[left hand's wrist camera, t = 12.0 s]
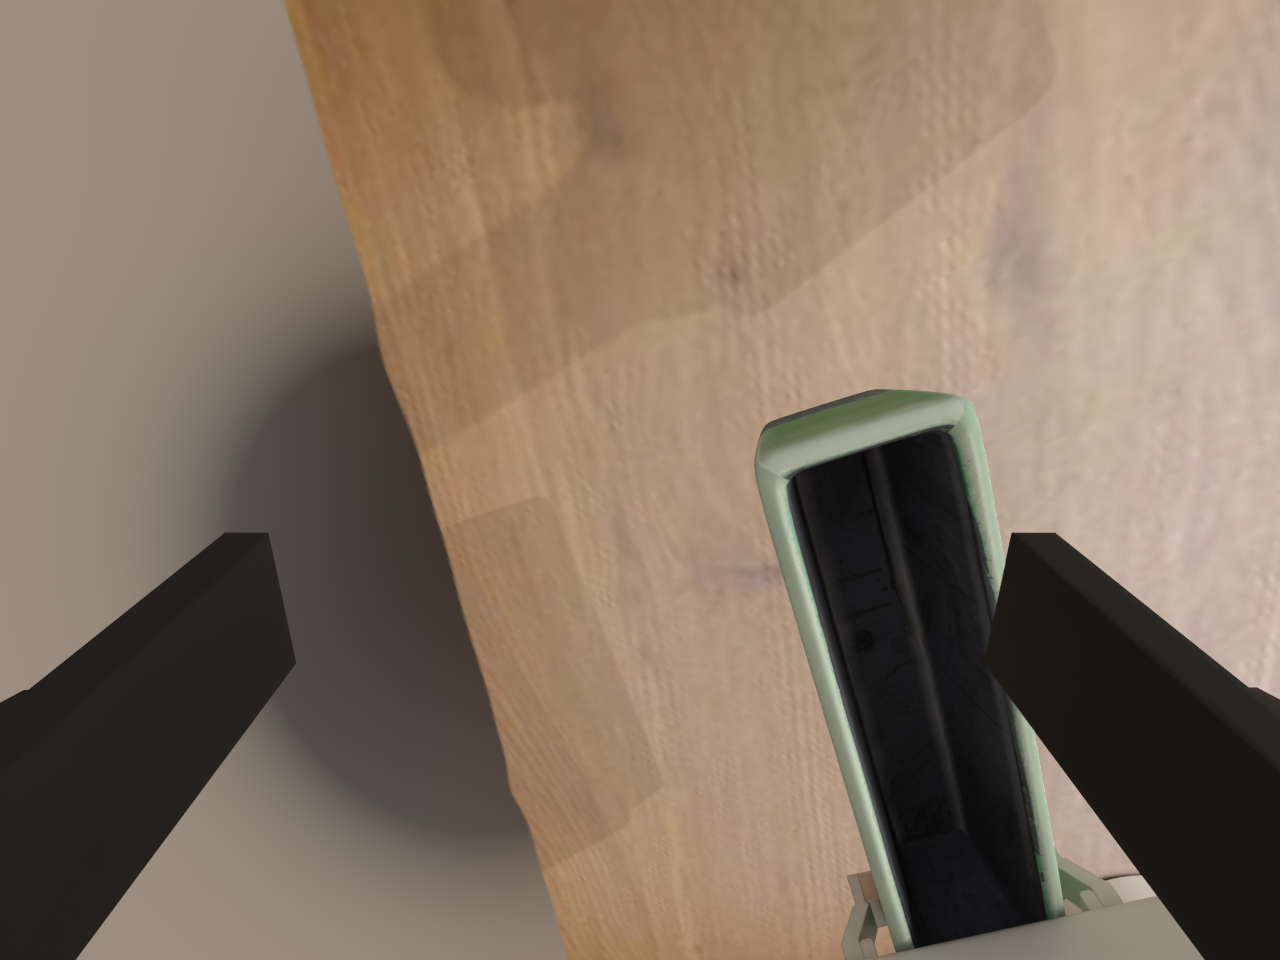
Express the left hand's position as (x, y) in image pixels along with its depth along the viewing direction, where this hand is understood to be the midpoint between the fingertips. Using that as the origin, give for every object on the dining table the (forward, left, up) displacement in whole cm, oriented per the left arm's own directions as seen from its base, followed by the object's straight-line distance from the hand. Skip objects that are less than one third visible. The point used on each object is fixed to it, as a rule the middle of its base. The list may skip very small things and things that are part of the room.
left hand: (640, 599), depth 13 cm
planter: (+13, +11, -17) cm, 24 cm away
